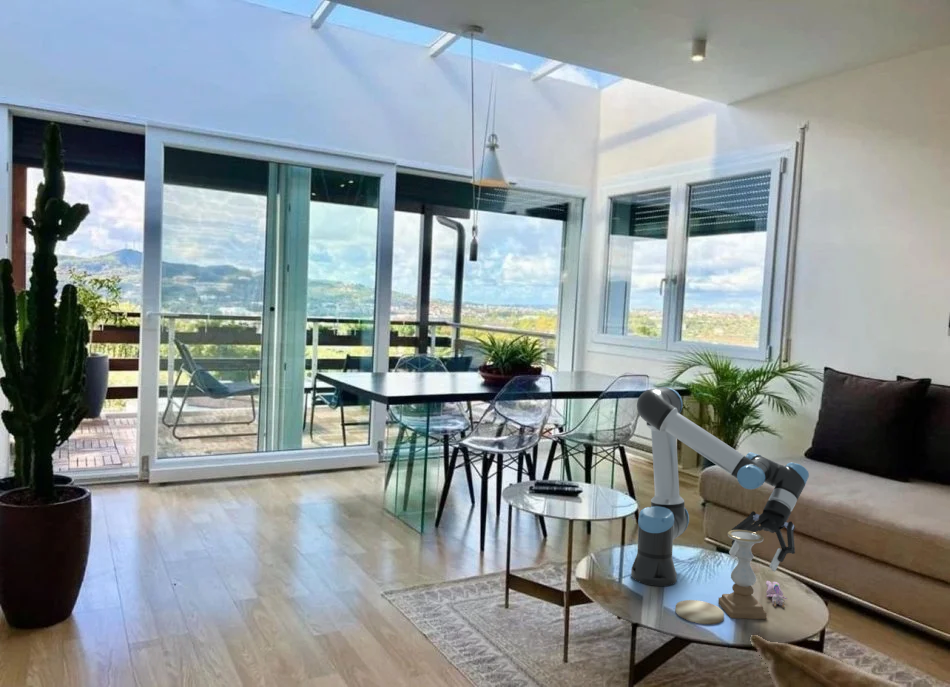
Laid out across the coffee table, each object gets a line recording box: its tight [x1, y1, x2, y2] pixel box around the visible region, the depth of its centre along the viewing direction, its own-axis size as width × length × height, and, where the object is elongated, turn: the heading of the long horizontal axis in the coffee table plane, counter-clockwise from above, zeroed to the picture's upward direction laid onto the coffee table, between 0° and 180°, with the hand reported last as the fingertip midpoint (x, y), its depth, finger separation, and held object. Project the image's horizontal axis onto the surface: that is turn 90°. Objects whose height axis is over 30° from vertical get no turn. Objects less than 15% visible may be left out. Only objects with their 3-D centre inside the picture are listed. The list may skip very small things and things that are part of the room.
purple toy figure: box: [765, 580, 788, 609], centre depth 219 cm, size 6×6×15 cm
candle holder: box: [717, 529, 768, 620], centre depth 208 cm, size 11×11×24 cm
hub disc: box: [675, 599, 725, 625], centre depth 206 cm, size 14×14×1 cm
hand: (751, 561), depth 208 cm, fingers open, 13 cm apart
